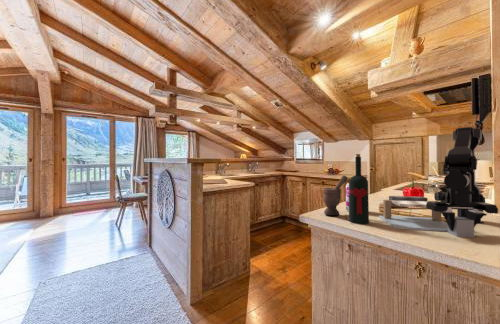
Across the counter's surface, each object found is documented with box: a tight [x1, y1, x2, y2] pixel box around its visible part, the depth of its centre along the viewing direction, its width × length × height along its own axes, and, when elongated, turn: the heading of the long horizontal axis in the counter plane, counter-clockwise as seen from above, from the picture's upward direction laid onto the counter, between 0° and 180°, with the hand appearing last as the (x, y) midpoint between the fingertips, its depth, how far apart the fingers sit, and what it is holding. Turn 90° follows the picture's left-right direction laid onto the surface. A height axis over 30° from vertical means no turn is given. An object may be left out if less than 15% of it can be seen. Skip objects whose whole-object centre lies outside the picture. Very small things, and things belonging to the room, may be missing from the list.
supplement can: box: [345, 182, 349, 213], centre depth 118 cm, size 8×8×15 cm
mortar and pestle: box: [322, 175, 348, 216], centre depth 112 cm, size 12×9×20 cm
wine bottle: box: [348, 153, 370, 225], centre depth 96 cm, size 8×10×30 cm
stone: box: [447, 216, 475, 238], centre depth 79 cm, size 5×5×6 cm
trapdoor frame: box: [378, 199, 448, 233], centre depth 94 cm, size 23×19×9 cm
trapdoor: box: [388, 195, 429, 208], centre depth 96 cm, size 16×14×4 cm
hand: (460, 230), depth 79 cm, fingers closed on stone, 5 cm apart
